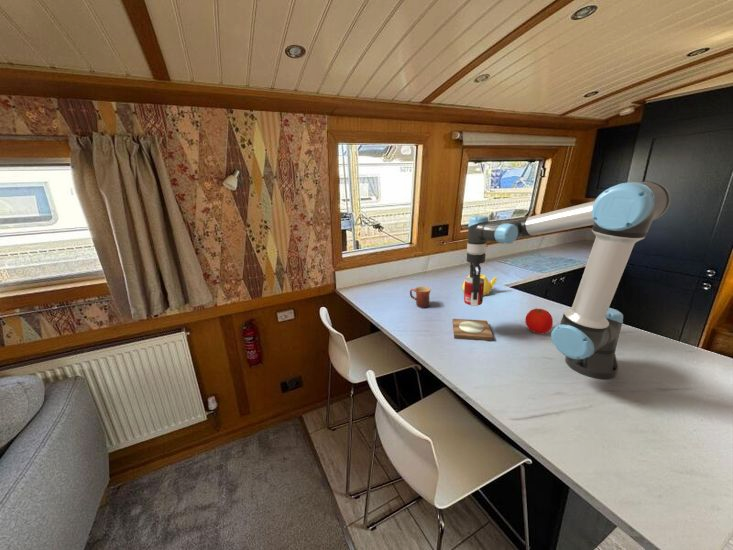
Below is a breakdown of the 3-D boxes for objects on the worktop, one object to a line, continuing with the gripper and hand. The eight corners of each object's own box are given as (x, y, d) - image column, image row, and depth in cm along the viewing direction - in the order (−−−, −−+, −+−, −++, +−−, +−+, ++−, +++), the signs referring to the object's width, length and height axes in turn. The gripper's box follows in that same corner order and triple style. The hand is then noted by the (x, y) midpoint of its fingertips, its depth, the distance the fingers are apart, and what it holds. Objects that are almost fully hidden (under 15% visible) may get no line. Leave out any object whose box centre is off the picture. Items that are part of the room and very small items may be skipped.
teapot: (463, 296, 173) (464, 276, 170) (460, 286, 191) (461, 267, 187) (498, 298, 169) (500, 277, 165) (493, 287, 186) (494, 268, 182)
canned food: (483, 306, 124) (485, 282, 121) (464, 305, 126) (466, 282, 123) (480, 299, 132) (482, 276, 128) (462, 299, 133) (464, 276, 130)
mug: (432, 304, 165) (432, 287, 162) (428, 310, 158) (428, 292, 154) (412, 301, 170) (412, 285, 167) (407, 306, 163) (407, 290, 160)
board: (492, 341, 124) (493, 336, 123) (454, 338, 128) (454, 333, 127) (486, 324, 139) (487, 319, 138) (452, 322, 142) (452, 318, 142)
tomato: (550, 328, 132) (554, 307, 128) (551, 339, 123) (554, 316, 120) (524, 324, 137) (527, 303, 134) (523, 333, 128) (526, 312, 125)
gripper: (489, 258, 112) (485, 312, 118) (482, 247, 131) (478, 294, 137) (469, 258, 113) (466, 311, 120) (464, 247, 132) (462, 293, 139)
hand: (473, 302), depth 129 cm, fingers closed on canned food, 8 cm apart
